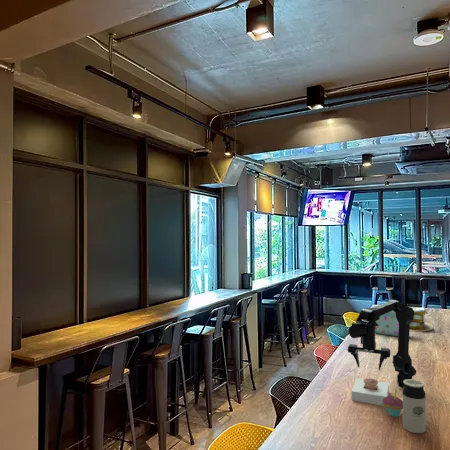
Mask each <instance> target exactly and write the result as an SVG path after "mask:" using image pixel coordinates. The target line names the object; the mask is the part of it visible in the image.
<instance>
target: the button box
mask: <svg viewBox="0 0 450 450" xmlns="http://www.w3.org/2000/svg"><path fill="white" fill-rule="evenodd" d="M364 379H365V378H358V377H356V379H355V381H354V384H353V386H352V389H351V390H350V391H351V393H350V394H351V401H355V402H360V403H361V402H362V403H367V404H372V405H378V406H383V407H385V406H384V405H383V403H382V401H383V399H384V398H385V397H388V396H390V383H389V382H382V381H378V385H376V390H371V389H365V383H364Z"/></svg>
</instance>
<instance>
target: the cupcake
mask: <svg viewBox="0 0 450 450" xmlns="http://www.w3.org/2000/svg"><path fill="white" fill-rule="evenodd" d="M397 392H398V390H397V387H395V389H394V396H393V395H388V397H385V398H384V399H383V401H382V403H383V405H384V406H383V405H382V406H383V407H384V408H385V409H386V412H387V414H388V415H389V416H391V417H397V418H398V417H400V415H401V413H402V412H403V399H401V398H399V397H397Z"/></svg>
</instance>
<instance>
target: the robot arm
mask: <svg viewBox="0 0 450 450" xmlns="http://www.w3.org/2000/svg"><path fill="white" fill-rule="evenodd" d="M412 308H413V307H412ZM412 308H411V306H408V305H407V304H404V303H403V302H401V301H400V300H396V299H389V300H388V301H386V302H384V303H381V304H378V305H377V306H375V307H374V306H373V307H365V308H362V309H361V310H360V313H359V314H358V316H357V318H356V320H355V322H352V323H351V325H350V326H349V327H348V335H349V336H350V338H351V339H357V338H358V339H359V338H360V345H361V346H362V347H360V346H358V344H354V343H353V344H352V343H350V344H348V346H347V353H350V355H352V356H353V358H354V361H355V363H356V364H357V365H356V366H357V367H358V368H360V356H359V352H362V353H370V354H371V353H372V354H377V355H378V354H379V362H378V371H381V369H382V364H383V362H384V361H385V360H388V358H390V357H391V349H390V348H387V347H381V348H380V349H377V342H376V332H375V326H378V324H377V323H376V321H377V320H379V318H380V316H382V315H384V314H386V313H388V312H391V311H394V312H395V313H396V318H397V320H398V322H399V334H398V336H397V337H398V338H397V341H398V342H397V352H396V354H393V355H392V364H393V368H394V371H395V372H398V373H397V375H396V381H397V385H398V387H402V388H404V383H403V381H404V380H406V379H413V377H415V376H416V375H417V370H416V368H415V367H414V366H413V362H412V357H411V356H410V354H409V352H410V351H409V347H410V331H409V330H410V324H411V322H412V321H413V319H414V310H413V309H412Z"/></svg>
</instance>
